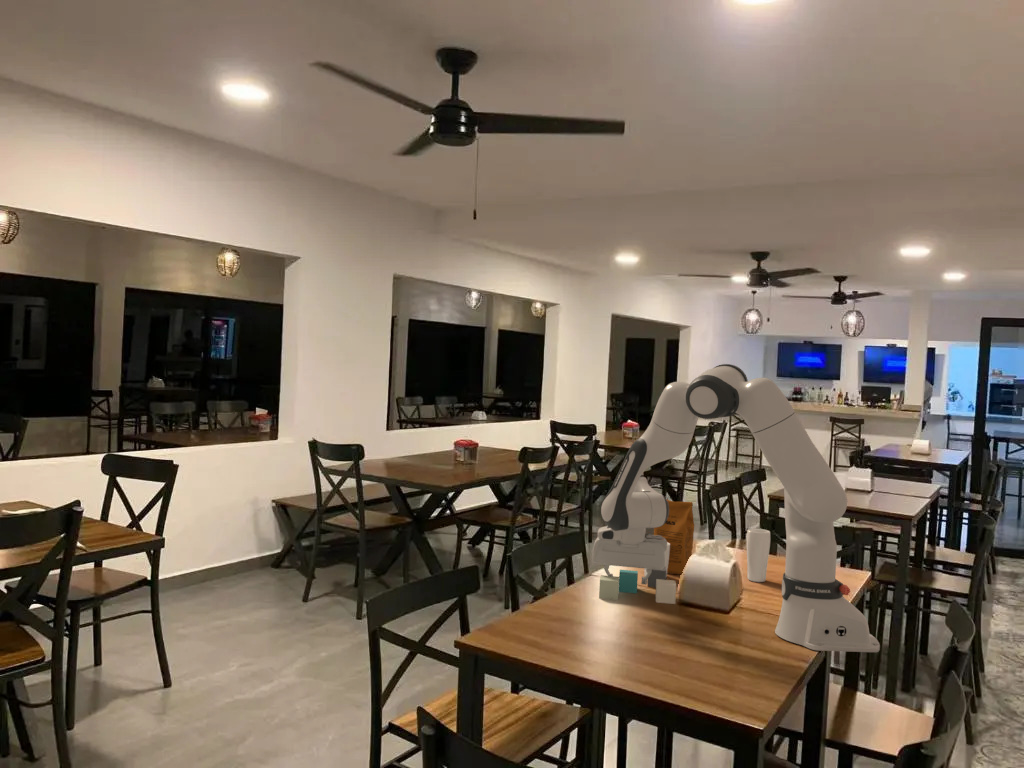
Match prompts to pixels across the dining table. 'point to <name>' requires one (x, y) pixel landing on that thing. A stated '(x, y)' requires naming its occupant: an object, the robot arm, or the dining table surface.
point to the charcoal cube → (656, 576)
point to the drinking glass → (757, 554)
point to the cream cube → (665, 591)
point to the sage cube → (609, 587)
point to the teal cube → (628, 581)
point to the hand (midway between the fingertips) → (626, 582)
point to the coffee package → (678, 535)
